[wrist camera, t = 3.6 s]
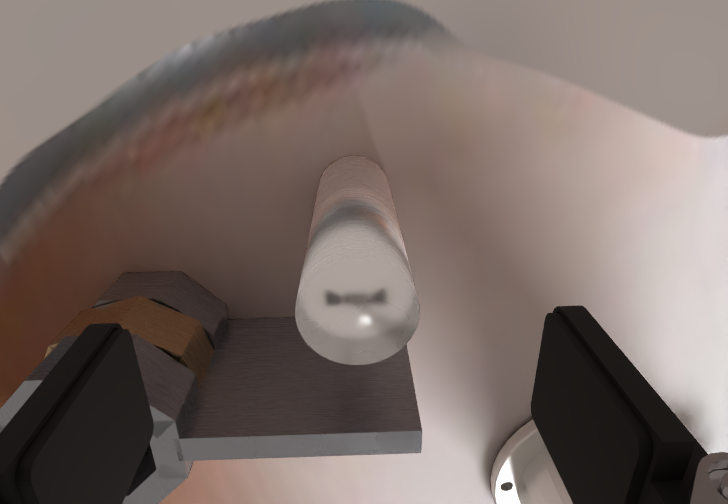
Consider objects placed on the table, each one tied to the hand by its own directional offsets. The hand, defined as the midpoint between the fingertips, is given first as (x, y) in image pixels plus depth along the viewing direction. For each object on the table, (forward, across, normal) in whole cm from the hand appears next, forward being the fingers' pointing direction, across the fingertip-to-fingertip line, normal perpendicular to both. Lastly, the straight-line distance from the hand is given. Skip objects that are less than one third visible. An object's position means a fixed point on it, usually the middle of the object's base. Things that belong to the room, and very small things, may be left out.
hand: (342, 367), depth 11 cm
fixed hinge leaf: (+15, +6, +9) cm, 18 cm away
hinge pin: (+15, -1, +1) cm, 15 cm away
